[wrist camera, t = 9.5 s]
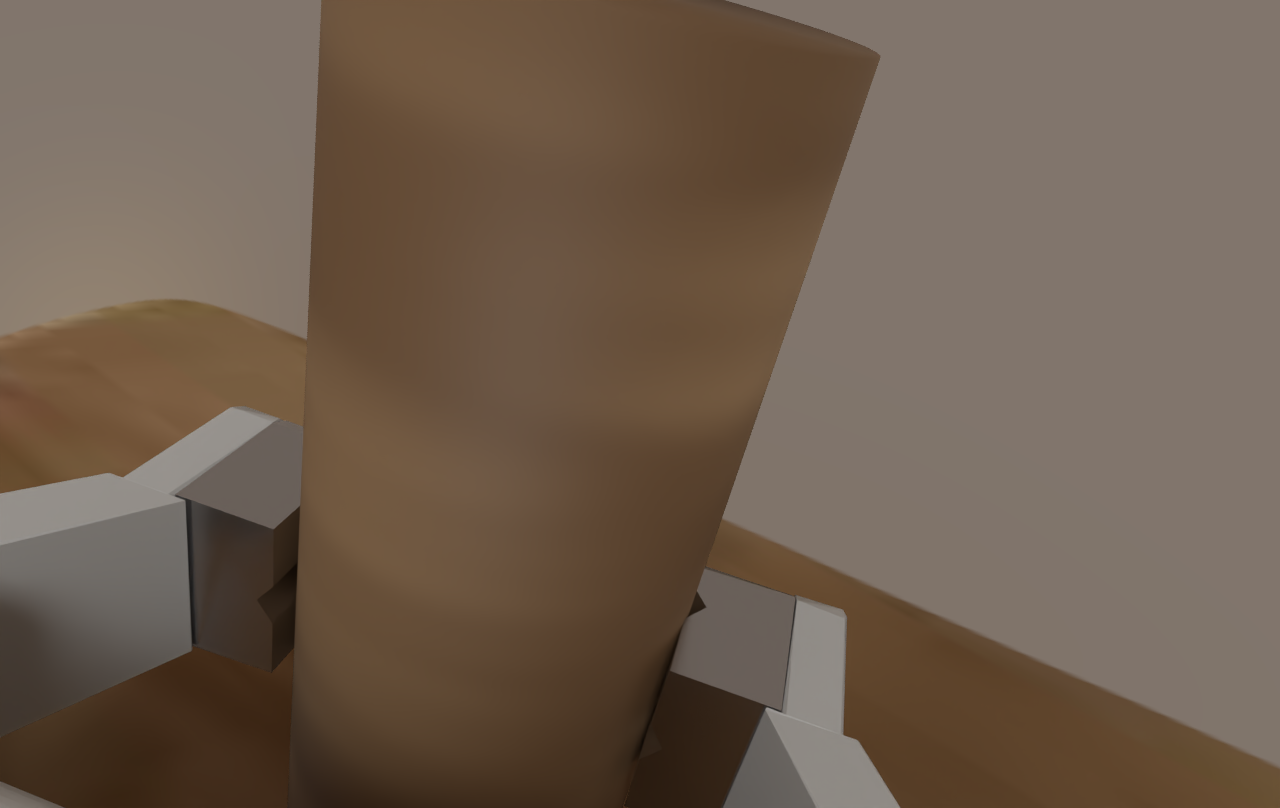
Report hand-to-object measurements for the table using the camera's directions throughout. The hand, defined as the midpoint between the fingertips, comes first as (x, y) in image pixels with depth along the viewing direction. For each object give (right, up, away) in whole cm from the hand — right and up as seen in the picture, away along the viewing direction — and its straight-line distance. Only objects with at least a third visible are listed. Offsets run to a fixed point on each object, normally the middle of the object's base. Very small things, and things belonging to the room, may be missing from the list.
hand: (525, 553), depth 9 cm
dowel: (-2, -8, +3) cm, 8 cm away
